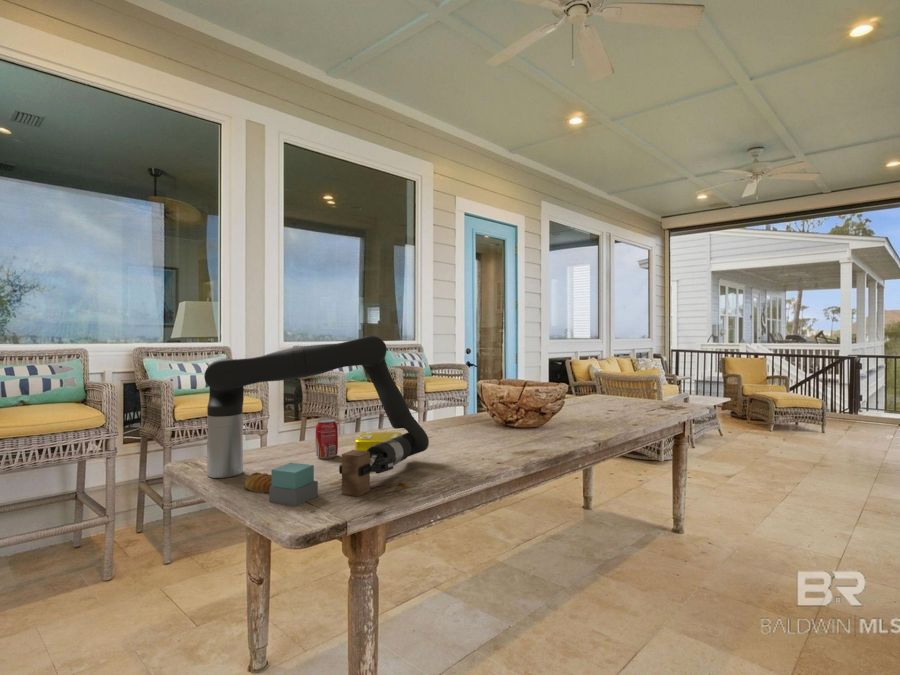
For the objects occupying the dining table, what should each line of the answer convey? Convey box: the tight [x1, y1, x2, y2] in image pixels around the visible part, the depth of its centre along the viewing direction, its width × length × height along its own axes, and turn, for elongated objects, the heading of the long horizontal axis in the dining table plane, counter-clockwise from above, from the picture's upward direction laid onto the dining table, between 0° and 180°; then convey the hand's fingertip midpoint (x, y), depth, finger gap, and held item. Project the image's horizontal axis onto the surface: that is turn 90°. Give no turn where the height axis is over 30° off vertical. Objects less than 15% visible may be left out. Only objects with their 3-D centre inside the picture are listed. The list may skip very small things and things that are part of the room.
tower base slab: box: [268, 480, 319, 507], centre depth 120 cm, size 8×8×4 cm
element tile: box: [354, 431, 403, 451], centre depth 174 cm, size 15×15×5 cm
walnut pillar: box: [341, 449, 371, 497], centre depth 124 cm, size 5×5×10 cm
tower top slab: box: [270, 462, 315, 490], centre depth 120 cm, size 7×7×4 cm
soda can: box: [315, 418, 339, 460], centre depth 160 cm, size 7×7×12 cm
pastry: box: [244, 472, 272, 494], centre depth 127 cm, size 9×7×4 cm
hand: (350, 471), depth 122 cm, fingers closed on walnut pillar, 5 cm apart
